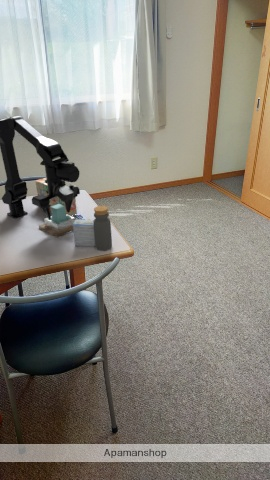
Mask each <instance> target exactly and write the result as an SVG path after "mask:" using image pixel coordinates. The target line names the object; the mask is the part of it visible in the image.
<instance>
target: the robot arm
mask: <svg viewBox="0 0 270 480" xmlns="http://www.w3.org/2000/svg"><path fill="white" fill-rule="evenodd" d="M16 132H17V133H18V135H20V136H22V137H23V139H24V140H26V141H27V142H29V143H30V144H31V145H32V146H33V147H34V148H35V150H36V154H37V155H38V156H39V157H40V158H41V160H42V161H41V162H40V165H41V166H44V170H45V178H46V179H47V180H45V183H47V186H48V190H47V191H46V193H48V194H49V195H47V196H44V195H41V194H40V195H38V194H37V195H35V196H33V197H32V198H31V204H32V205H33V206H36V207H39V208H40V209H41V210H42V212H43V214H44V215H45V216H46V217H45V218H48V219H49V220H51V216H52V215H51V211H50V209H49V208H50V206H51V205H49V203H50V200H52V199H55V198H58V197H59V198H60V199H61V200H62V201H63V202H65V206H66V210H67V212H68V213H69V212H70V208H71V205H72V201H73V199H74V198H77V197H78V196H79V195H80V194H81V190H80V188H79V186H77V185H76V184H68V185H67V184H66V182H70V183H75V182H77V181H78V180H79V177H80V169H79V168H78V166H75V162H73V161H71V162H69V161H70V160H69V158H68V155H67V154H66V153H65V152H64V150H63V149H62V145H61V144H60V143H59V142H58V141H55V140H54V139H52V138H49V137H46V136H43V135H42V134H41V133H40V132H39V131H38V130H36V129H35V128H34V127H33V126H32V125H31V124H29V123H28V122H27V121H25V119H24V117H23V116H22V115H14V116H10V117H5V118H0V153H1V156H2V157H1V158H2V161H3V167H4V171H5V175H6V182H5V183H4V184H5V185H4V190H5V191H4V194H3V195H2V197H1V200H2V204H6V205H8V209H9V212H7V213H6V215H7V216H10V217H11V218H13V219H17V218H19V217H23V216H26V215H27V214H28V211H25V210H24V209H25V208H24V203H23V200H26V199H27V195H28V189H29V188H27V187H28V186H27V182H26V181H24V180H23V179H22V178H21V177H20V173H19V167H18V162H17V158H16V153H15V147H14V139H15V135H16Z"/></svg>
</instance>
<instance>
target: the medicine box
mask: <svg viewBox="0 0 270 480" xmlns="http://www.w3.org/2000/svg"><path fill="white" fill-rule="evenodd" d="M93 221H94V219H75V221H74V223H73V231H72V232H73V239H74V246H75V247H77V246H79V247H82V246H83V247H84V246H85V247H86V246H87V247H90V246H91V247H96V245H95V234H94V222H93Z"/></svg>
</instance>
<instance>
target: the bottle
mask: <svg viewBox="0 0 270 480" xmlns="http://www.w3.org/2000/svg"><path fill="white" fill-rule="evenodd" d="M108 210H109V208H108V206H106V205H97V206H95V207H94V208H93V211H94V213H93V218H94V219H93V220H94V221H93V222H94V234H95V245H96V246H95V249H96V250H97V251H100V252H106V251H109V250H112V248H113V239H112V224H111V218H109V216H110V212H109V211H108Z"/></svg>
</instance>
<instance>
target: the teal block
mask: <svg viewBox="0 0 270 480" xmlns="http://www.w3.org/2000/svg"><path fill="white" fill-rule="evenodd" d="M50 215H51V216H52V221H54V222H56V223H60V222H62V221H65V220H67V217H66V208H65V206H63V205H61V204H57V205H54V206H51V211H50Z"/></svg>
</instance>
